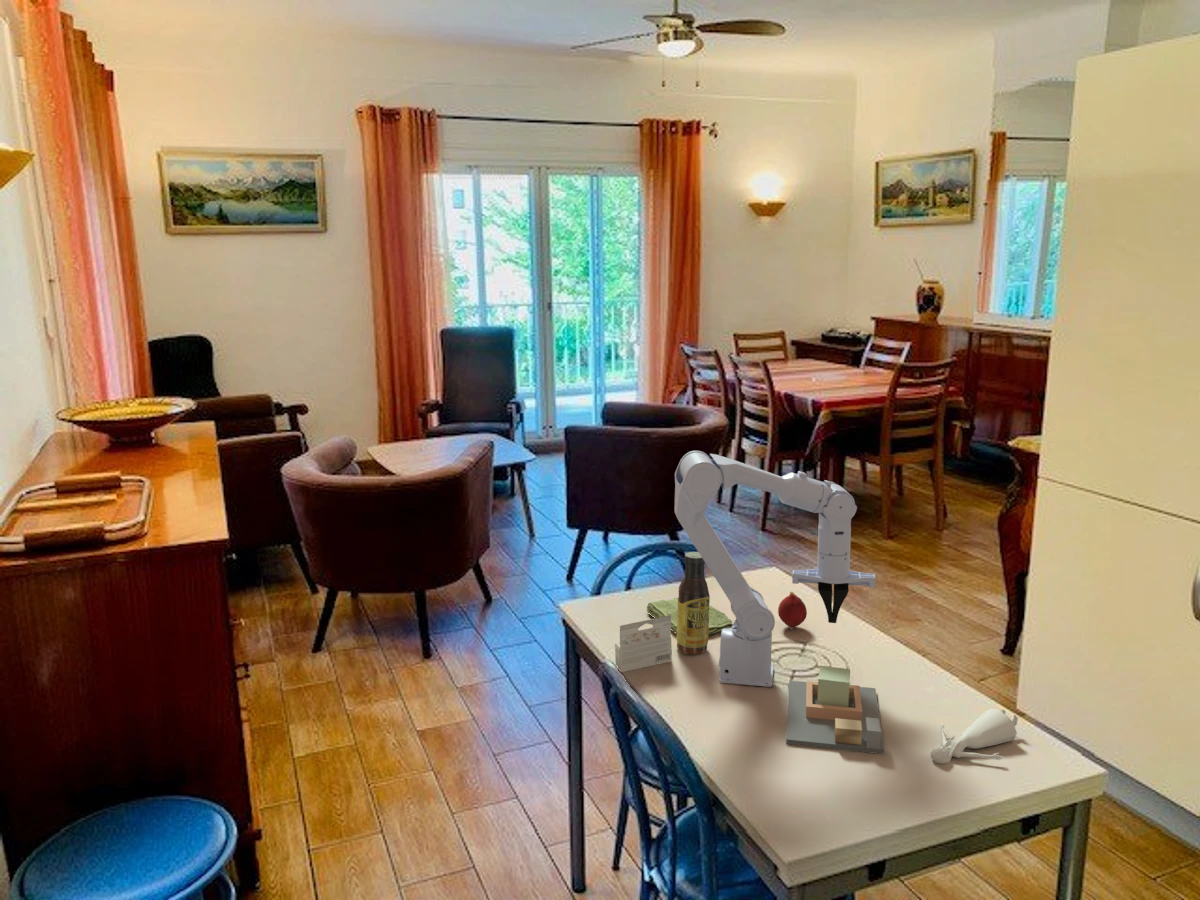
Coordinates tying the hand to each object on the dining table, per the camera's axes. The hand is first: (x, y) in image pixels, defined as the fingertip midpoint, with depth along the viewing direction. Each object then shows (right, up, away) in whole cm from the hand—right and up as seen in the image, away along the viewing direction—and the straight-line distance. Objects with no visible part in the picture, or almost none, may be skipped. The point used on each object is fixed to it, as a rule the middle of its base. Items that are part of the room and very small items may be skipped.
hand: (832, 620), depth 161 cm
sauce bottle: (-24, -8, +13) cm, 29 cm away
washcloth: (-24, -6, +27) cm, 36 cm away
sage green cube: (-3, -12, -11) cm, 17 cm away
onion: (-3, -6, +22) cm, 23 cm away
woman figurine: (+16, -16, -22) cm, 32 cm away
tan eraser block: (-3, -16, -21) cm, 26 cm away
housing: (-3, -14, -13) cm, 19 cm away
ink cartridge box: (-34, -10, +7) cm, 37 cm away
